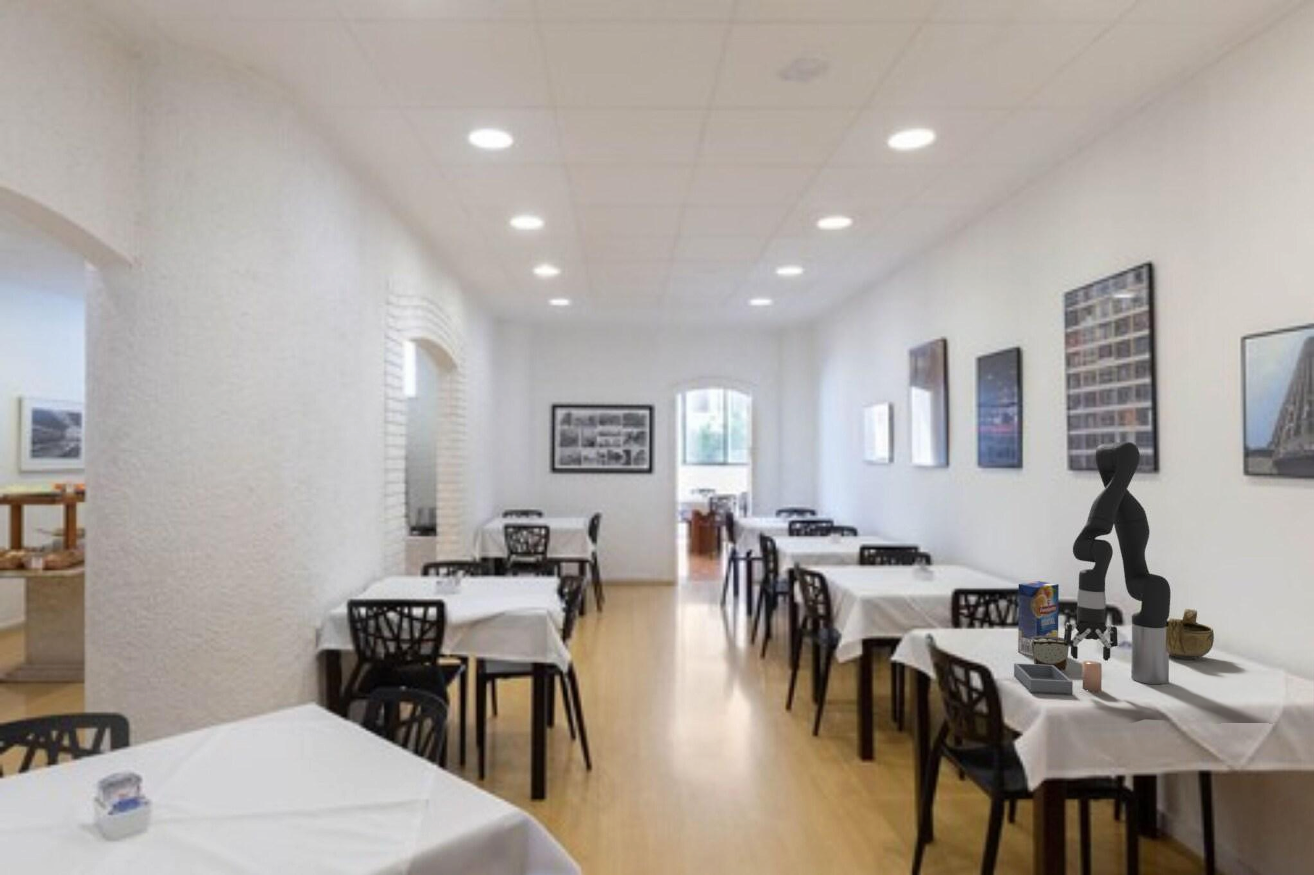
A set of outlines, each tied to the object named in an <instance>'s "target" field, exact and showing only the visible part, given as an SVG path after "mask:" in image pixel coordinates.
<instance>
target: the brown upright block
mask: <svg viewBox="0 0 1314 875" xmlns="http://www.w3.org/2000/svg"><path fill="white" fill-rule="evenodd" d="M1102 670H1103V669H1102V663H1101V662H1098V661H1096V660H1095V661H1094V660H1084V661H1082V690H1083V689H1084V691H1086V690H1088V691H1087V692H1089V691H1094V692H1093V693H1100V692H1099V691H1101V692H1102V680H1103V679H1102V676H1103V674H1102Z"/></svg>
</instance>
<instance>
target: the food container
mask: <svg viewBox="0 0 1314 875" xmlns="http://www.w3.org/2000/svg"><path fill="white" fill-rule="evenodd" d="M1030 645H1031V646H1033V656H1032V657H1033V664H1041V665H1054V666H1055V667H1056V668H1057V669H1058V670H1059V671H1061V672H1067V666H1068V655H1069V648H1071V645H1070V644H1067V643H1066V642H1065V641H1064V637H1059V636H1058V637H1054V636H1035V637H1032V639H1031V643H1030Z"/></svg>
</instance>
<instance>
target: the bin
mask: <svg viewBox="0 0 1314 875" xmlns="http://www.w3.org/2000/svg"><path fill="white" fill-rule="evenodd" d="M1013 677H1014V678H1016V680H1017V681H1018V682H1019V683H1020V684H1021V685H1022V686H1023V687H1024V689H1026V690H1027V691H1028V692H1029V693H1030V694H1036V695H1037V694H1039V695H1041V694H1042V695H1059V696H1073V692H1074V690H1073V684H1074V683H1073V681H1072V680H1071V679H1070V678H1069V677H1068V676H1066V675H1065V674H1064V673H1063V671H1059V670H1058V669H1057V668H1056V667H1055V666H1054V665H1041V664H1034V663H1017V662H1015V663H1013Z"/></svg>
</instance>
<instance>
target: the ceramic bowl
mask: <svg viewBox="0 0 1314 875" xmlns="http://www.w3.org/2000/svg"><path fill="white" fill-rule="evenodd" d="M1197 618H1198V611H1197V610H1196V609H1190V608H1185V609H1184V611H1183V616H1182V619H1180V618H1173V617H1172V618H1171V617H1169V618H1168V620H1167V622H1166V651H1167V652H1168V653H1169V656H1171V657H1174V658H1178V659H1182V660H1183V659H1184V660H1194V659H1198V658H1202V657H1204V656H1205V655H1207V654H1208V653H1209V652H1210V651H1211V650H1212V648H1213V645H1214V640H1215V636H1214V635H1215V634H1214V628H1212V627H1211V626H1209V625H1205V624H1200V623H1198V622H1197Z"/></svg>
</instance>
